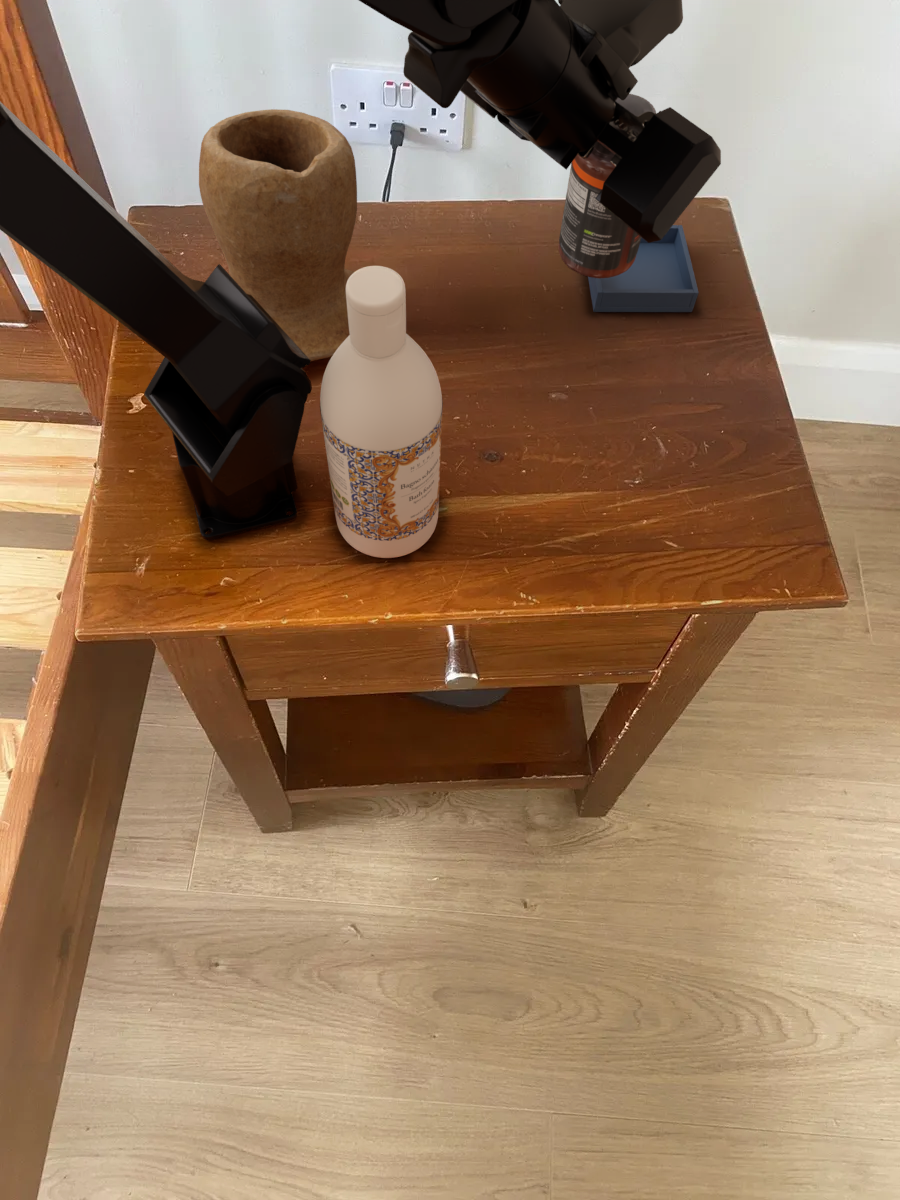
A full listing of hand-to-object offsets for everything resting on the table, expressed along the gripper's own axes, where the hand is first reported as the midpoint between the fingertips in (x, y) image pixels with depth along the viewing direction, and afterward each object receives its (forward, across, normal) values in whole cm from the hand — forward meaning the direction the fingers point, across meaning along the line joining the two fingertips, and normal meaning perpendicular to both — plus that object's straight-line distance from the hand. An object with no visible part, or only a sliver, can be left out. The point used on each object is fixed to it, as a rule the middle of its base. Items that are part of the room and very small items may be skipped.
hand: (627, 169), depth 61 cm
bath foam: (-10, -8, +27) cm, 30 cm away
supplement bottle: (+4, 0, +6) cm, 7 cm away
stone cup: (-7, +12, +24) cm, 28 cm away
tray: (+11, 0, +5) cm, 12 cm away
